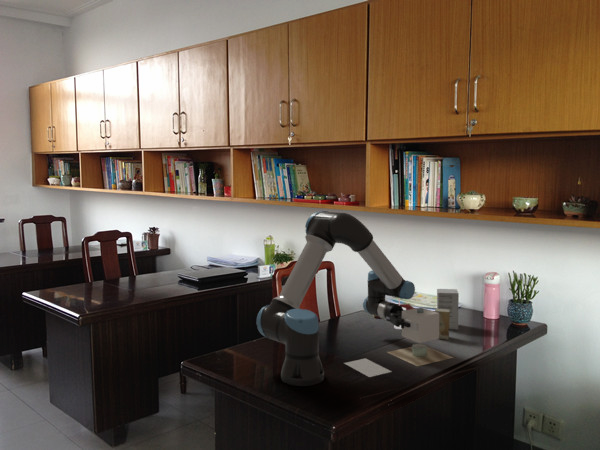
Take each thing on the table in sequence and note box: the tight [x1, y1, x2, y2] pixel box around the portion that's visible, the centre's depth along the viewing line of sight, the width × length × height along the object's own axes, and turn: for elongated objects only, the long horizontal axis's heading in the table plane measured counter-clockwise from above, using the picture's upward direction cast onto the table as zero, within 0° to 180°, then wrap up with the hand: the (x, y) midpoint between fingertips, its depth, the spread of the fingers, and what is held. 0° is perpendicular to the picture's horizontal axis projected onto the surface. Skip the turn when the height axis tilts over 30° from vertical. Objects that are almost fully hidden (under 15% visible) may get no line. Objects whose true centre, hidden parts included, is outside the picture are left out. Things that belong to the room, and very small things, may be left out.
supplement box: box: [436, 288, 460, 330], centre depth 248 cm, size 10×9×17 cm
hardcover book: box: [372, 303, 416, 319], centre depth 271 cm, size 12×21×4 cm, turn 95°
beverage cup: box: [393, 298, 406, 330], centre depth 247 cm, size 6×6×14 cm
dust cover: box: [401, 307, 439, 344], centre depth 208 cm, size 10×10×11 cm
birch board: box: [386, 346, 454, 367], centre depth 209 cm, size 18×18×1 cm
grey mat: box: [343, 358, 393, 378], centre depth 199 cm, size 16×16×1 cm
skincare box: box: [434, 308, 450, 340], centre depth 232 cm, size 6×4×12 cm
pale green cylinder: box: [411, 343, 428, 357], centre depth 209 cm, size 6×6×4 cm
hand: (427, 325), depth 204 cm, fingers closed on dust cover, 10 cm apart
